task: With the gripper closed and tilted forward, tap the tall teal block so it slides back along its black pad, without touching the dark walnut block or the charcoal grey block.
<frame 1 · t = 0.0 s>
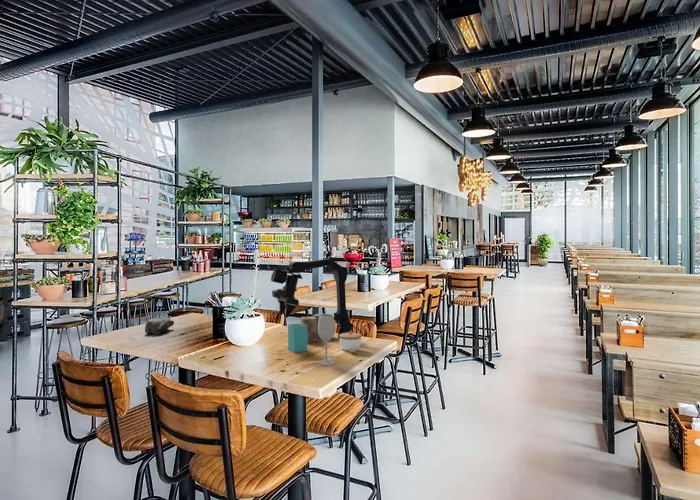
hand: (283, 316, 219), 15 cm above the table, tool pointing down, fingers open, 9 cm apart
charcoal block: (320, 325, 238), point 7 cm above the table, slide at 0.0 cm
wineglass: (326, 363, 191), on the table
lidded jar: (350, 351, 212), on the table
rock: (160, 332, 253), on the table
walnut block: (308, 329, 229), point 7 cm above the table, slide at 0.0 cm
teal block: (297, 337, 210), point 7 cm above the table, slide at 0.0 cm
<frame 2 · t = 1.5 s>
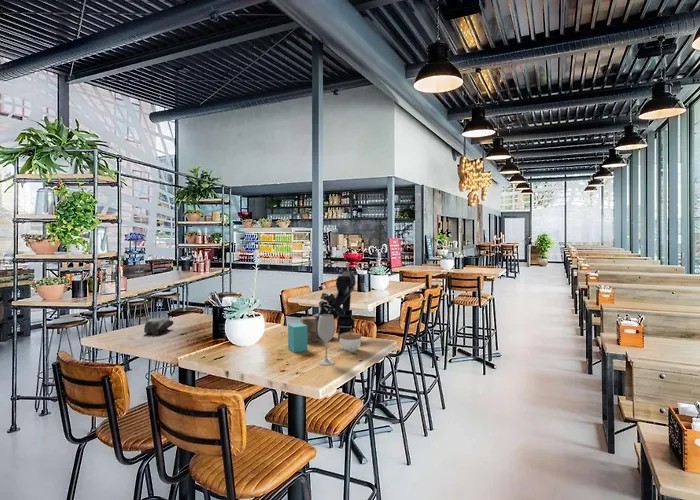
hand: (320, 321, 216), 14 cm above the table, tool tilted 45°, fingers open, 7 cm apart
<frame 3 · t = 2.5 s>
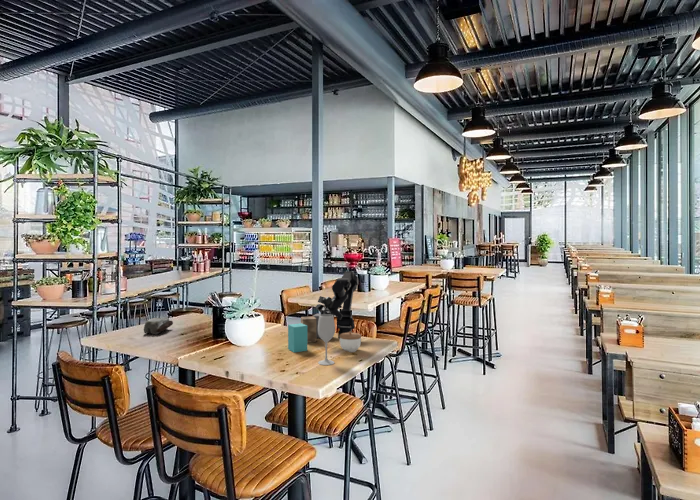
hand: (318, 324, 215), 12 cm above the table, tool tilted 45°, fingers closed
nothing on the table moved.
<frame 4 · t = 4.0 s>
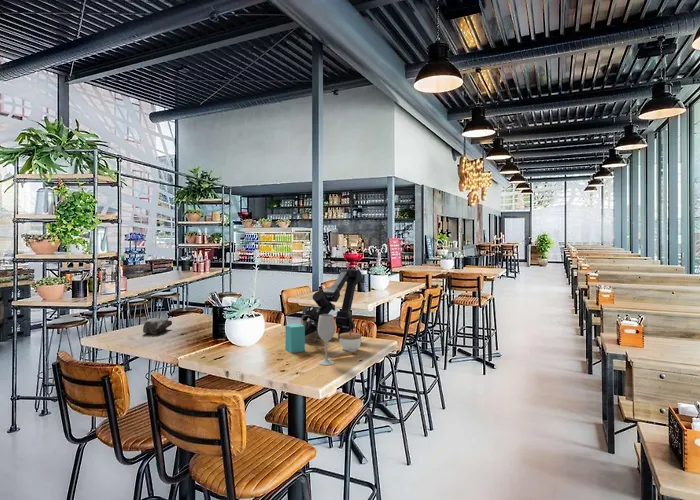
hand: (302, 336, 211), 7 cm above the table, tool tilted 45°, fingers closed, pressing on teal block
teal block: (295, 337, 209), point 7 cm above the table, slide at 1.4 cm, touching gripper
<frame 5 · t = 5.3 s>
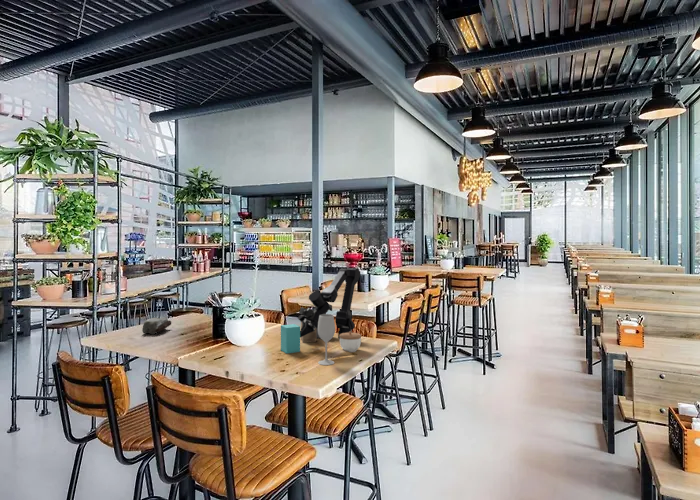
hand: (299, 336, 210), 7 cm above the table, tool tilted 45°, fingers closed
teal block: (290, 338, 208), point 7 cm above the table, slide at 3.8 cm
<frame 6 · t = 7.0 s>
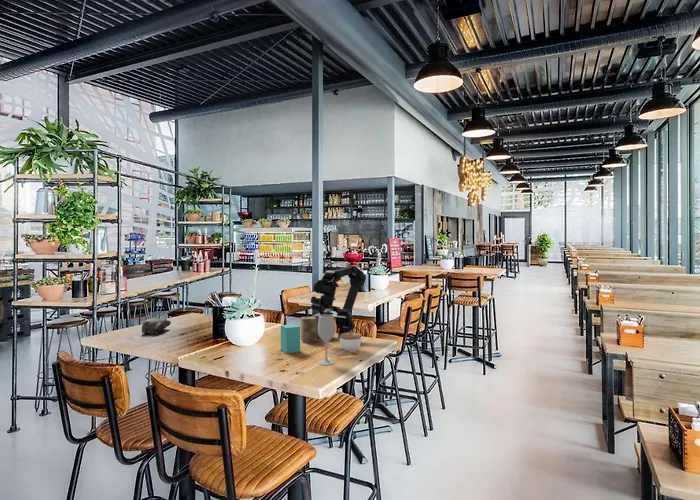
hand: (322, 324, 221), 11 cm above the table, tool pointing down, fingers closed
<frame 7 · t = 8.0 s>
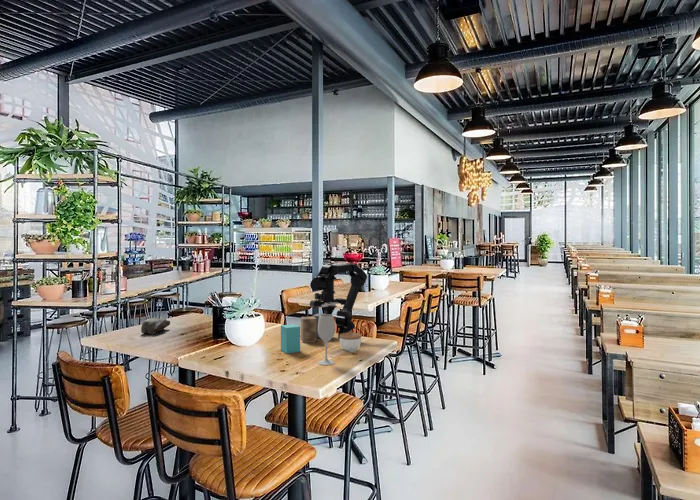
hand: (328, 319, 224), 13 cm above the table, tool pointing down, fingers closed
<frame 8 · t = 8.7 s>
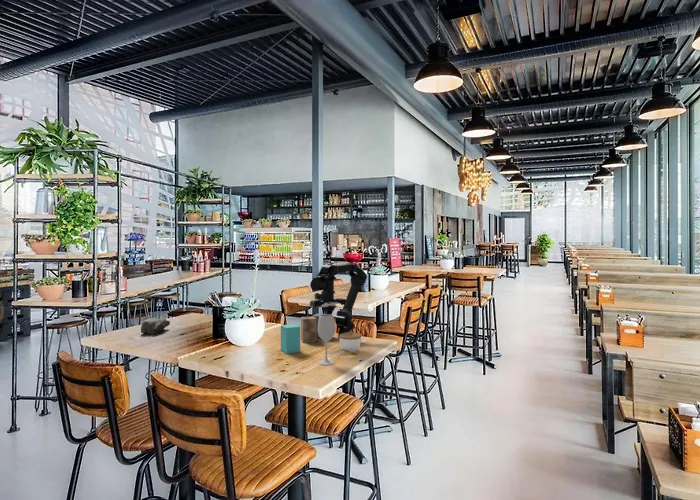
hand: (328, 319, 224), 13 cm above the table, tool pointing down, fingers closed
at the end: teal block slide at 3.8 cm; walnut block slide at 0.0 cm; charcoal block slide at 0.0 cm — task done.
